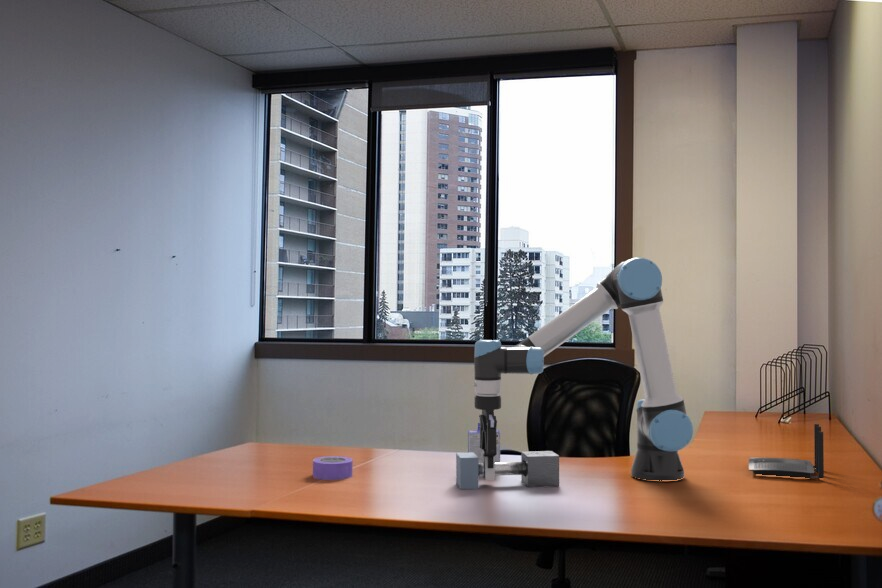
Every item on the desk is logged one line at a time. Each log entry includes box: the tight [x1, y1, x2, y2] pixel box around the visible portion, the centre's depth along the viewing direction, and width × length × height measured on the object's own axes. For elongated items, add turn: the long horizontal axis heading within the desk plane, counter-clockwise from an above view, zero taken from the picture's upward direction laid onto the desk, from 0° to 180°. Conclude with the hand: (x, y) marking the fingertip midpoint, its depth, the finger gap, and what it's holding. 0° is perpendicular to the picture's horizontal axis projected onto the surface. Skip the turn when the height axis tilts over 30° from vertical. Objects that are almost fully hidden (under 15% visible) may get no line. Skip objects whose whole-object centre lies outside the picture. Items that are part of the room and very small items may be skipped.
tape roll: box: [312, 455, 354, 481], centre depth 245 cm, size 12×12×5 cm
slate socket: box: [455, 452, 479, 490], centre depth 231 cm, size 5×8×9 cm, turn 7°
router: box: [748, 423, 825, 479], centre depth 249 cm, size 21×20×15 cm
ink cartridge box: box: [467, 422, 501, 463], centre depth 252 cm, size 10×6×14 cm, turn 90°
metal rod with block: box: [478, 448, 526, 479], centre depth 232 cm, size 18×5×8 cm, turn 97°
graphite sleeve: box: [520, 450, 560, 488], centre depth 234 cm, size 9×8×8 cm
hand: (488, 477), depth 232 cm, fingers closed on metal rod with block, 5 cm apart
